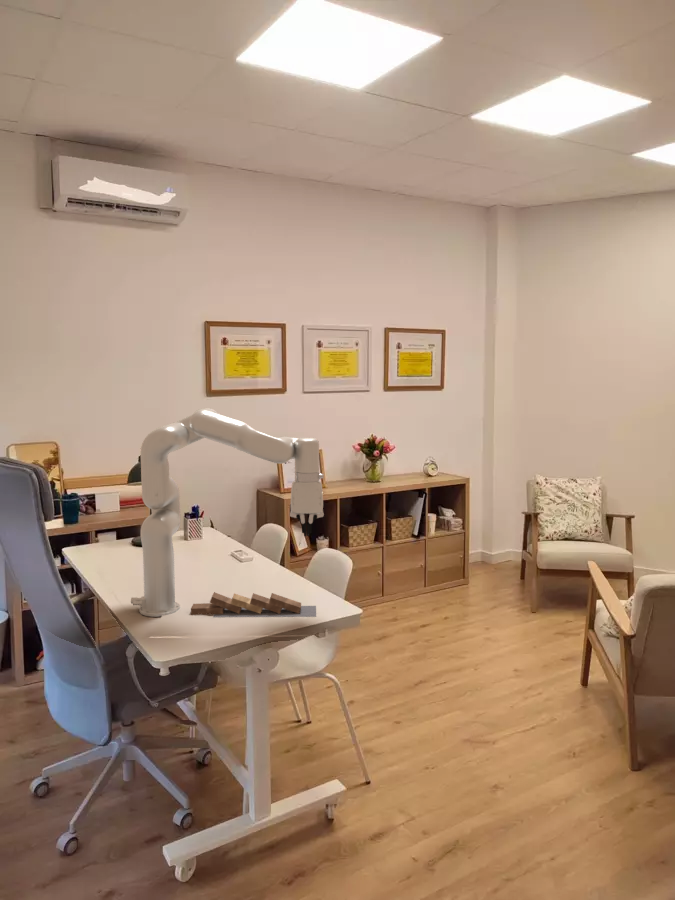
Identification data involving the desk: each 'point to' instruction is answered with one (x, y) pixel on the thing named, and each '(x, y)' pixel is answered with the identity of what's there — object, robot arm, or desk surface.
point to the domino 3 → (245, 603)
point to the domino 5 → (285, 603)
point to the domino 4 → (264, 603)
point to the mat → (271, 613)
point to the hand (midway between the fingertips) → (306, 535)
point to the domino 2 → (224, 602)
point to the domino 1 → (206, 609)
